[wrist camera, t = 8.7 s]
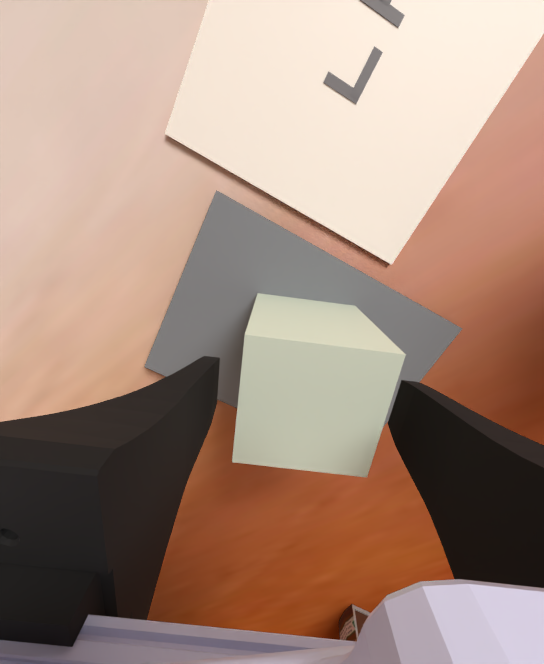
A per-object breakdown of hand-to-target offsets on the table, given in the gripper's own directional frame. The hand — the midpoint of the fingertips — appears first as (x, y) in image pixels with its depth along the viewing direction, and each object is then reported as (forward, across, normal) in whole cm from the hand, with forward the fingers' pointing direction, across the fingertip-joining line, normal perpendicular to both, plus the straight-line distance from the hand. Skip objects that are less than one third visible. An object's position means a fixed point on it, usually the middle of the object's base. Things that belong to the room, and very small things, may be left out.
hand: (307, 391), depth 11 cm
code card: (+5, -1, -14) cm, 14 cm away
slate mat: (+5, 0, 0) cm, 5 cm away
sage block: (+4, 0, 0) cm, 4 cm away
